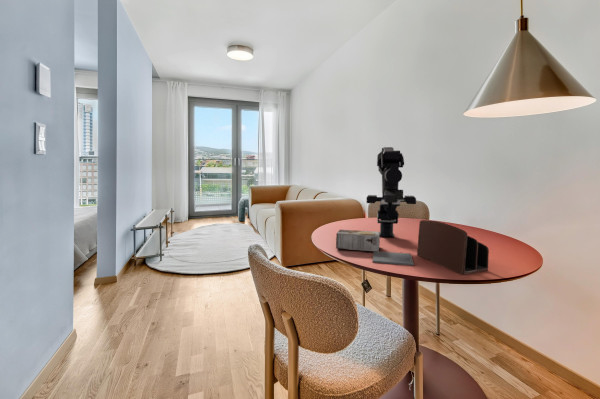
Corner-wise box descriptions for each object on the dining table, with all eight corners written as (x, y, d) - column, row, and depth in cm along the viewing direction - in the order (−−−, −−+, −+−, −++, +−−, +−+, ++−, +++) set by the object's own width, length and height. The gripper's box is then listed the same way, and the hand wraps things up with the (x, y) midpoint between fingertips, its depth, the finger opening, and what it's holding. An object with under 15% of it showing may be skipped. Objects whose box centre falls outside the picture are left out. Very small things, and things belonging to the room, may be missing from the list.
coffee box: (379, 247, 113) (340, 244, 118) (380, 231, 113) (340, 229, 118) (378, 252, 104) (335, 248, 109) (378, 235, 104) (335, 232, 109)
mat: (373, 252, 106) (373, 251, 106) (410, 255, 102) (410, 253, 102) (372, 262, 95) (372, 260, 95) (413, 265, 92) (413, 263, 92)
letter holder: (463, 275, 83) (465, 229, 82) (416, 255, 102) (417, 217, 100) (488, 271, 86) (491, 226, 84) (438, 252, 105) (440, 215, 103)
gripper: (365, 183, 108) (365, 223, 110) (418, 183, 103) (417, 225, 104) (367, 181, 118) (366, 218, 120) (415, 181, 113) (413, 220, 115)
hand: (390, 220), depth 115 cm, fingers closed
